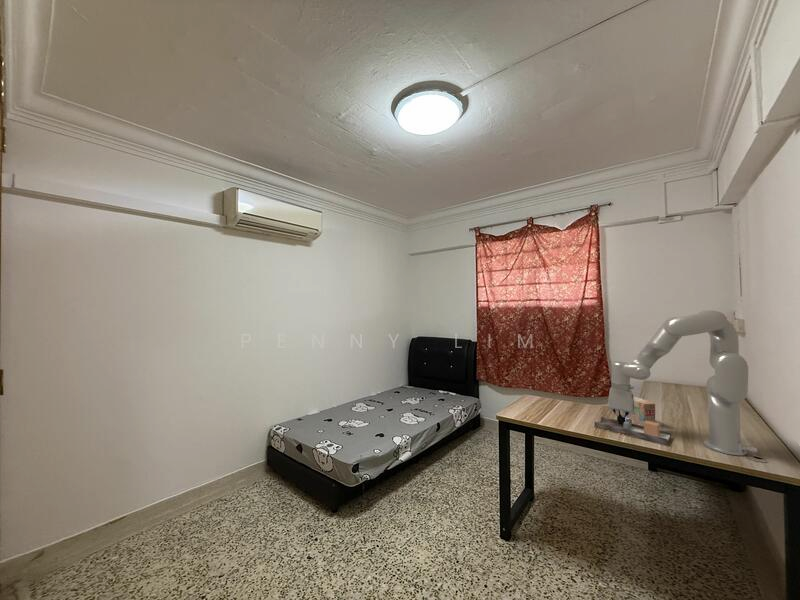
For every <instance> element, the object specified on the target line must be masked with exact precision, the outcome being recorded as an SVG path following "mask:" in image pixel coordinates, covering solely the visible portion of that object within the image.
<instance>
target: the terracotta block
mask: <svg viewBox="0 0 800 600" xmlns="http://www.w3.org/2000/svg"><path fill="white" fill-rule="evenodd" d="M660 428H661V427H660V422H656V421H655V422H652V421H647V420H646V421H645V422H644V433H645V434H649V435H654V436H659V434H660V430H661V429H660Z"/></svg>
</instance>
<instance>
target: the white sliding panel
mask: <svg viewBox="0 0 800 600" xmlns="http://www.w3.org/2000/svg"><path fill="white" fill-rule="evenodd" d="M623 424H624V428H625V429H629V430H633V431H637V432H641V433H644V429H641V428H637V427H633V426H632V424H633V422H632V420H631V419H627V420H626V419H625V422H624V423H623ZM658 437H662V438H666V439H667V442H668V440H669V438H670V435H667V434H663V433H660V434H659V436H658Z"/></svg>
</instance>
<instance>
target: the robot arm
mask: <svg viewBox="0 0 800 600" xmlns="http://www.w3.org/2000/svg"><path fill="white" fill-rule="evenodd" d="M705 333H708V335H709V338H710V339H709V343H710V345H709V346H710V349H709V365H710V366H711V367H712V368H713V369H714V375H712V376H710V377H709V378H708V379H707V381H706V384H705V387H706V389H705V390H706V395H707V408H708V409H707V416H708V417H707V418H708V419H707V421H708V424H707V425H708V439H706V440H704V441H703V445H704V446H705V447H706V448H708V449H710V450H712V451H715V452H718V453H721V454H727V455H733V456H745V455H746V456H747V452H751V453H755V454H758V448H757V447H753V445H750V444H749V445H747V444H745V443H743V441H742V440H741V406H740V402H742V401H744V400H745V399H746V398H747V396H748V392H749V365H748V362H747V361H746V359H745V358H744V357H743V356H741V355H740V347H739V346H740V345H739V344H740V343H739V334H738V331H737V329H736V328H735V326H734V325H733V324H732V322H730V321H729V320H728V317H727V315H725V314H724V312H723V313H722V312H720V311H719V310H709V309H708V310H701V311H699V312H698V313H695V314H688V315H683V316H673V317H672V316H671V317H669V318H667V319H666V320H665V321H664V322H663V323H662V325H660V328H658V329H657V331H656V332H655V333H654V335H653V336H652V337H651V339H650V340H649V341H648V342H647V343H646V344H645V346H644V347H643V348H642V350H640V352H639V353H638V354H637V355H636V356H635V358H634V359H633V361H632V362H631V363H628V362H626V361H625V362H624V361H618V360H616V361H612V362H611V365H610V366H611V387H609V394H608V407H607V408H608V410H609V411H611V412H612V411H613V412H614V413H615V414H616V415H615V414H614V415H615V416H616V420H617V422H618V424H621V425H623V423H624V422H625V421H626V419H625V416H627V415H634V414H635V413H634V397H635V396H634V392H633V391H632V390H634V388H635V387H634V386H633V385H632V384H631V379H634V380H639V381H645V380H647V379H649V378H650V377H651V374H652V373H651V368H652V367H653V366H654V365H655V363H656V362H658V360H660V359H661V358H663V357H664V356H667V355H668V354H669V353H670V352H671V351H672V349H673V348H674V347H675V346H676V344H677V343H678V342H679V341H680V340H681V338H682V337H686V336H687V337H688V336H694V335H700V334H705ZM620 410H622V415H621V414H620Z"/></svg>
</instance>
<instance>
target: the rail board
mask: <svg viewBox="0 0 800 600" xmlns="http://www.w3.org/2000/svg"><path fill="white" fill-rule="evenodd" d="M632 426H633V427H637V428H641V429H644V426H641V425H638V424H635V423H632ZM595 427H596V428H595ZM594 428H595V429H599V428H600V429H599V430H602V429H605V430H604V431H606V430H609V431H608V432H610V431H612V432H611V433H614V432H616V433H615V434H618V433H620V434H619V435H622V434H624V435H623V436H626V435H627V436H626V437H630V436H631V437H630V438H634V439H637V440H641V439H642V441H645V442H650V443H654V444H658V445H662V446H666V447H667V446H668V445H669V444H670V442H671V440H672V432H671V431H665V430H661V429H660V433H663V434H667V435H670V438H669V440H668V442H667V439H666V438H662V437H658V436H654V435H649V434H645V433H641V432H637V431H633V430H629V429H625V428H624V424H623V425H621V424H618V422H617V419H614V418H610V417H605V416H600V421H594Z"/></svg>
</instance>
